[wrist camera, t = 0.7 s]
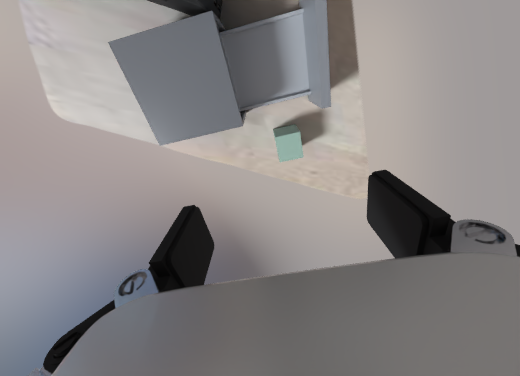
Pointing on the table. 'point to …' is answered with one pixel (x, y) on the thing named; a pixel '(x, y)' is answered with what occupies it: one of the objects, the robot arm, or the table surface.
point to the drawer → (281, 57)
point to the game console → (193, 6)
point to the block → (288, 143)
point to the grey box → (181, 78)
